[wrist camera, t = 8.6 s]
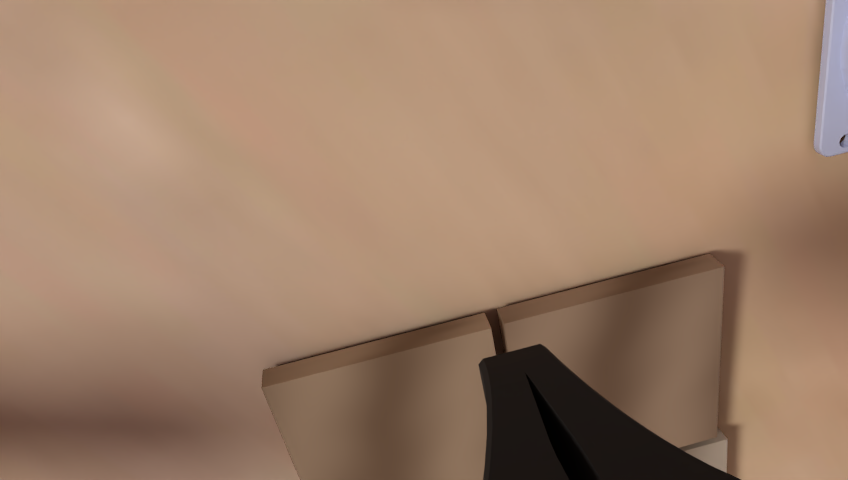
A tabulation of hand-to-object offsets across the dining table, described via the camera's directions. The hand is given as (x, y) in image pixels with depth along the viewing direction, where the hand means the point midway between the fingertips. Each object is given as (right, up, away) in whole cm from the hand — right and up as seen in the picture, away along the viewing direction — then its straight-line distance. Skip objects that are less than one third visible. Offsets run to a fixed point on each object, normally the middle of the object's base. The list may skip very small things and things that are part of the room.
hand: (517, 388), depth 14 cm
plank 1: (-3, -5, +13) cm, 14 cm away
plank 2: (+6, -2, +14) cm, 15 cm away
